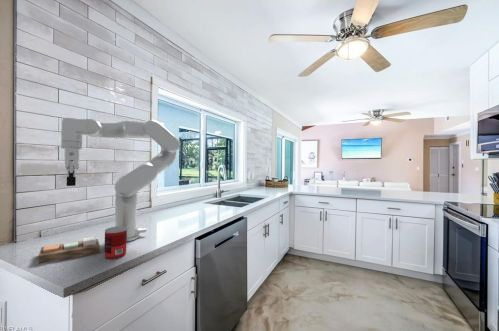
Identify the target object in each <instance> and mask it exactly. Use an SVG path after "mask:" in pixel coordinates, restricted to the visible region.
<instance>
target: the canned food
mask: <svg viewBox="0 0 499 331" xmlns="http://www.w3.org/2000/svg"><path fill="white" fill-rule="evenodd" d="M127 242H128V241H127V227H124V226H117V227H115V226H111V227H107V228H106V229H105V230H104V253H103V254H104V258H105V259H107V258H108V260H113V259H112V258H116V259H119V258H118V257H120V258H122V257H124V256H125V255H126V254H127Z"/></svg>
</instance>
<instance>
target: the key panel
mask: <svg viewBox="0 0 499 331" xmlns="http://www.w3.org/2000/svg"><path fill="white" fill-rule="evenodd" d="M73 242H74V241H73ZM73 242H71V243H73ZM77 242H78V247H77V248H70V249H64V244H65V243H61V244H60V243H59V244H58V245H59V250H58V251H52V252H46V253H43V249H44V247H45V246H41V248H40V251H39V254H38V258H37V259H38V260H37V265H41V264H47V263H51V262H52V263H53V262H58V261H64V260H68V259H69V260H70V259H74V258H80V257H85V256H90V255H96V254H100V253H101V251H100V250H101V246H100V242H99V239H98V238H96V244H95V245H89V246H83V240H81V241H79V240H78V241H77Z"/></svg>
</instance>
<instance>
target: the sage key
mask: <svg viewBox="0 0 499 331" xmlns="http://www.w3.org/2000/svg"><path fill="white" fill-rule="evenodd" d="M78 242H79V241H75V242H74V241H73V243H72V242H67V243H63V244H64V249H70V248H77V247H78Z"/></svg>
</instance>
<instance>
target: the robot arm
mask: <svg viewBox="0 0 499 331" xmlns="http://www.w3.org/2000/svg"><path fill="white" fill-rule="evenodd" d="M60 132H61V140H60V141H61V142H60V143H61V146H60V149H64V168H65V171H67V177H66V186H67V187H75V186H76V170H77V171H79V170H80V150H83V135H86V136H89V137H92V138H110V139H113V138H117V139H152V141H154V142H156V144H158V145H159V146H160V152H158V154H156V155H155V156H153V157H152V158H151V159H149V160H148V161H146V162H144V163H141V164H140V165H138V167H136V168H134V169H133V170H131V171H130V172H128V173H126V174H125V175H122V176H119V177H118V179H117V180H116V181H115V183H114V190H115V202H114V203H115V204H114V205H115V208H114V227H117V226H124V227H127V242H131V241H135V240H137V239H139V238H140V234H141V233H147V228H137V212H138V210H137V205H138V192H139V191H141V190H143V189H144V188H146V187H147V186H149V185H150V184H151V183H152V182H154V181H155V180H156V179H157V176H158V175H159V174H161V173H162V172H163V171H165V170H166V169H168V168H169V167H170V166H171V165H172V164H173V163H174V161H175V160H176V157H177V151H178V150H179V148H180V141H179V139H178V138H177V137H176V136H175V135H174V134H173V133H171V132H170V131H169V130H168V129H167V128H166V127H165V126H164V125H162V124H161V123H160V122H159V121H158V120H154V119H149V120H148V121H135V120H122V121H119V122H109V123H108V122H100V121H98V120H96V119H92V118H84V119H83V118H75V117H64V118H62V120H61V131H60Z"/></svg>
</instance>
